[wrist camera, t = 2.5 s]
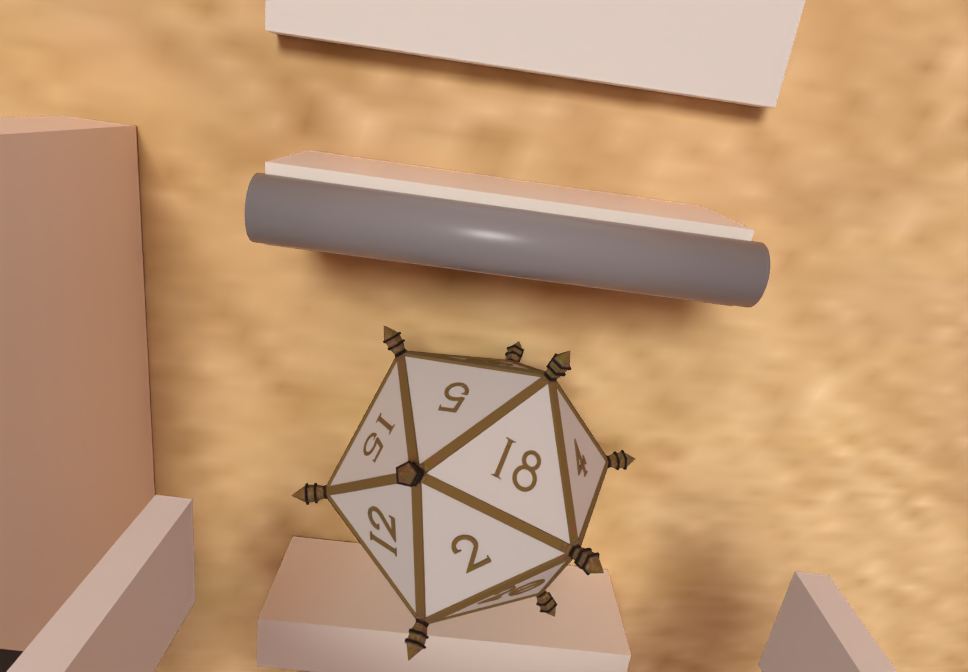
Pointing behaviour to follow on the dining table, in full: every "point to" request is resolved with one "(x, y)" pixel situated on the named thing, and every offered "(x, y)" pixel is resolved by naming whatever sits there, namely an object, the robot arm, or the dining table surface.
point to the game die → (469, 483)
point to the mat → (575, 38)
